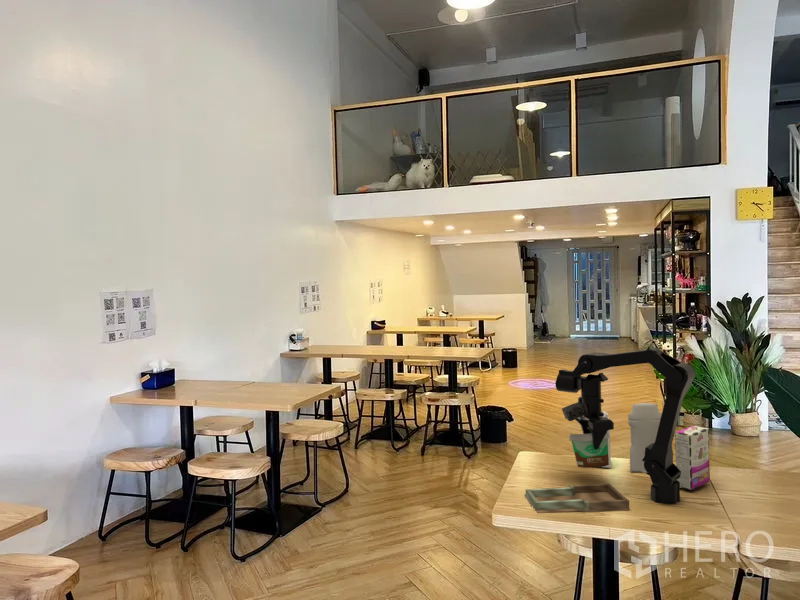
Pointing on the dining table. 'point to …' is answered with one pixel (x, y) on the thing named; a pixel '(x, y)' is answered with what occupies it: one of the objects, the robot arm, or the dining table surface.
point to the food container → (589, 451)
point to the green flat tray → (577, 499)
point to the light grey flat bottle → (642, 432)
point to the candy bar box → (692, 456)
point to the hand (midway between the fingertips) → (591, 446)
